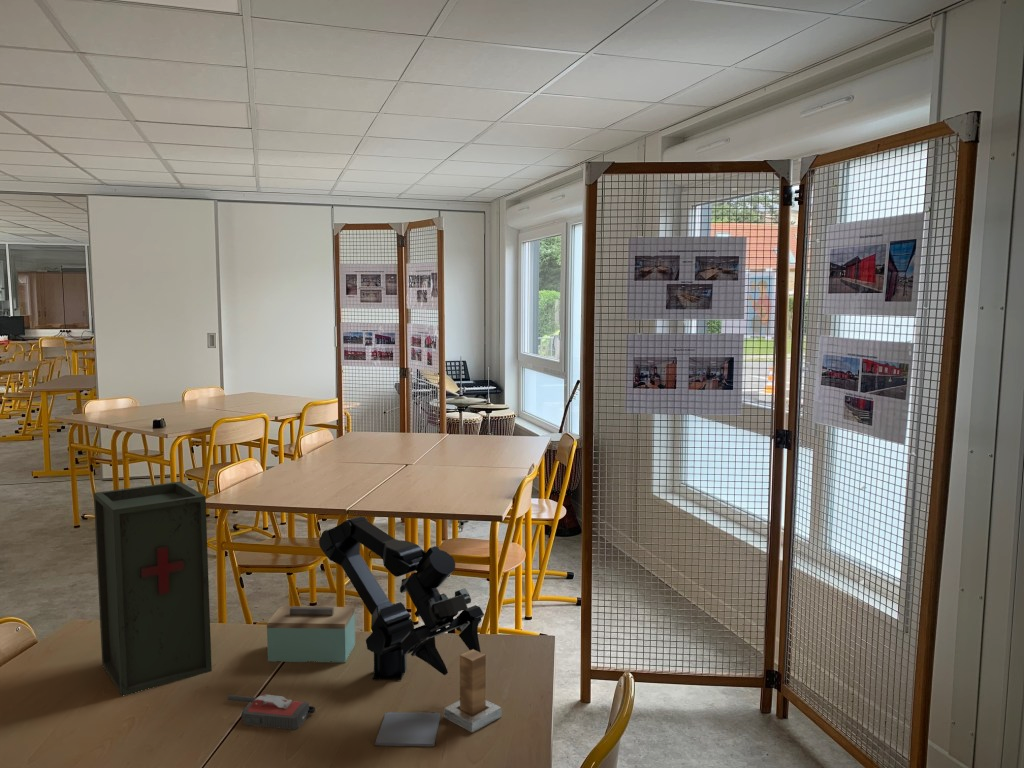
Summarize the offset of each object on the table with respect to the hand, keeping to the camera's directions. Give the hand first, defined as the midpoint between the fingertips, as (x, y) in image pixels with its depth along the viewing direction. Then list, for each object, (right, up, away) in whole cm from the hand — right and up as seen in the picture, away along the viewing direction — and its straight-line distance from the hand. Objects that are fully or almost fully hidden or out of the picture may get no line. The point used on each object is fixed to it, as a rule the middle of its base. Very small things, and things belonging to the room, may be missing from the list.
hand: (463, 666), depth 155 cm
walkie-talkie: (-40, -10, 0) cm, 41 cm away
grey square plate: (-10, -10, -6) cm, 15 cm away
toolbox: (-37, -7, +28) cm, 47 cm away
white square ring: (+2, -10, -1) cm, 10 cm away
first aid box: (-71, -8, +20) cm, 74 cm away
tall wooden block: (+2, -10, -1) cm, 10 cm away
